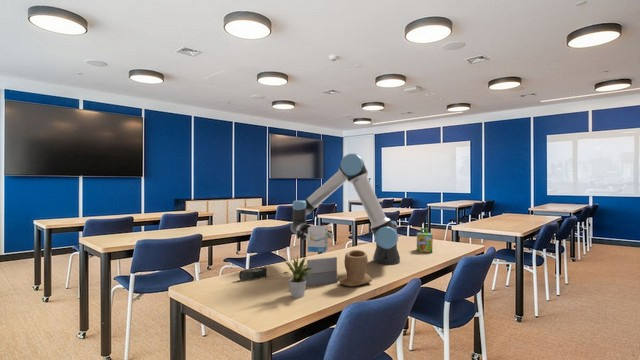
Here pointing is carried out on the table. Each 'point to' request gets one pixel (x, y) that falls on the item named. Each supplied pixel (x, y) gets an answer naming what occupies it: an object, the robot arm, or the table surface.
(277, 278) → the table surface
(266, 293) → the table surface
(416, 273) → the table surface
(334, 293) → the table surface
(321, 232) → the ink box
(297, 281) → the house plant
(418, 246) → the green juice carton
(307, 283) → the step
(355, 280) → the stone cup
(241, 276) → the mobile phone
